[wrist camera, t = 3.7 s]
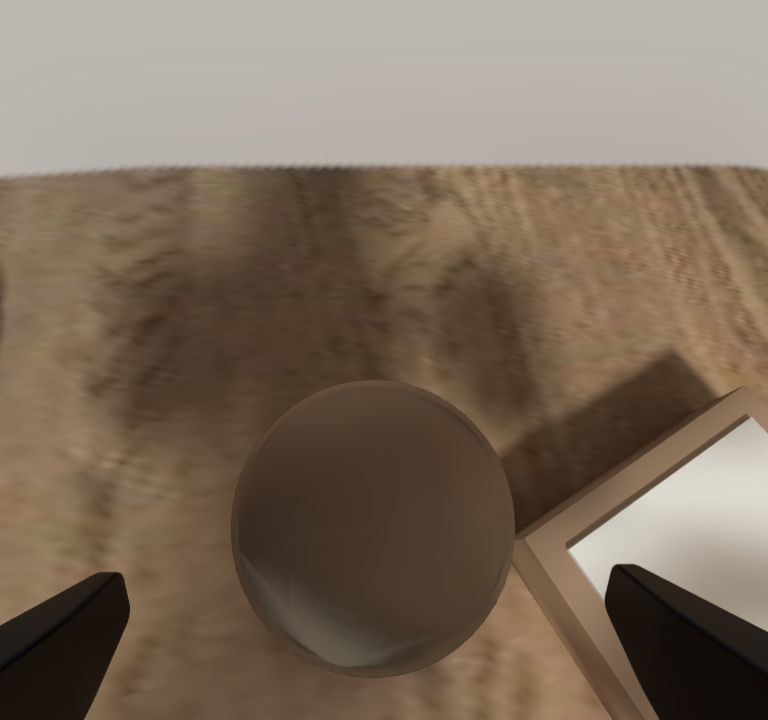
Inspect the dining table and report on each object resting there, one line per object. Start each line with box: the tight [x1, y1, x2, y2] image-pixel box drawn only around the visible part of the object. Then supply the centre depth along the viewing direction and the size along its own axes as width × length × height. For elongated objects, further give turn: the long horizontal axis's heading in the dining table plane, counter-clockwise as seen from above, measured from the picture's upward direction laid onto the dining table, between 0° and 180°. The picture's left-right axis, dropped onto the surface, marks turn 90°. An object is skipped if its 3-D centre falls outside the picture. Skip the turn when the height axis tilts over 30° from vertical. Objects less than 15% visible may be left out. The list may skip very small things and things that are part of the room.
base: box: [511, 385, 768, 720], centre depth 16 cm, size 11×11×3 cm
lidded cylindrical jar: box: [231, 380, 515, 678], centre depth 13 cm, size 5×5×11 cm
